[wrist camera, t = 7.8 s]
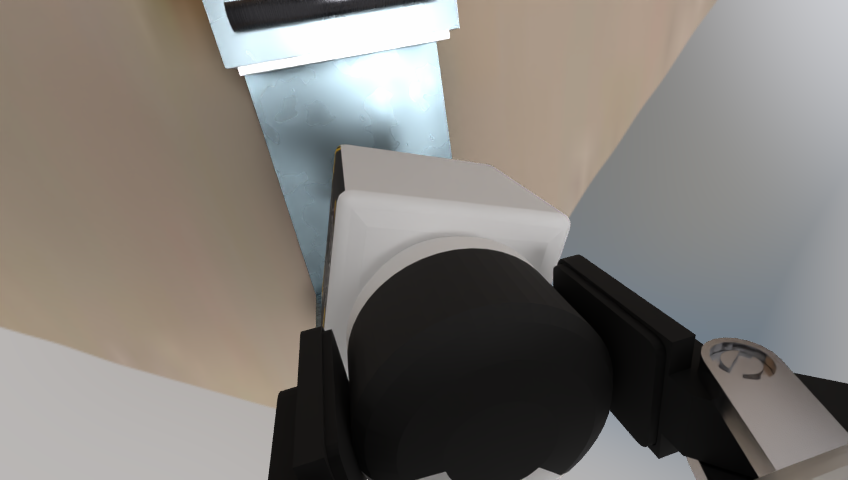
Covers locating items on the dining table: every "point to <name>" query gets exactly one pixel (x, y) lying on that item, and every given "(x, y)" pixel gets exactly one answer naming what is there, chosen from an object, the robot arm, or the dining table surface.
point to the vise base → (345, 127)
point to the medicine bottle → (456, 323)
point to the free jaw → (321, 29)
